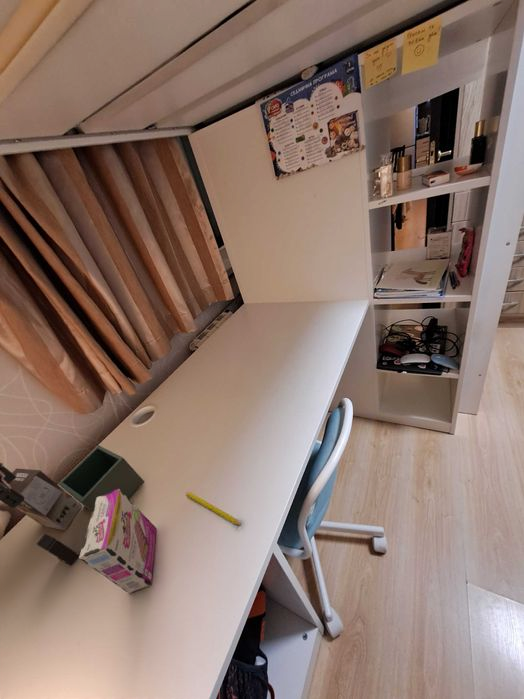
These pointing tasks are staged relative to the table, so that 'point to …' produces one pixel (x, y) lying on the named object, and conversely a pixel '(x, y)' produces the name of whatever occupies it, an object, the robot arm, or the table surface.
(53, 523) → the coffee box
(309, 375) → the table surface
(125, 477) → the box
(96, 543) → the candy bar box
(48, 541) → the ink cartridge
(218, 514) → the pencil
